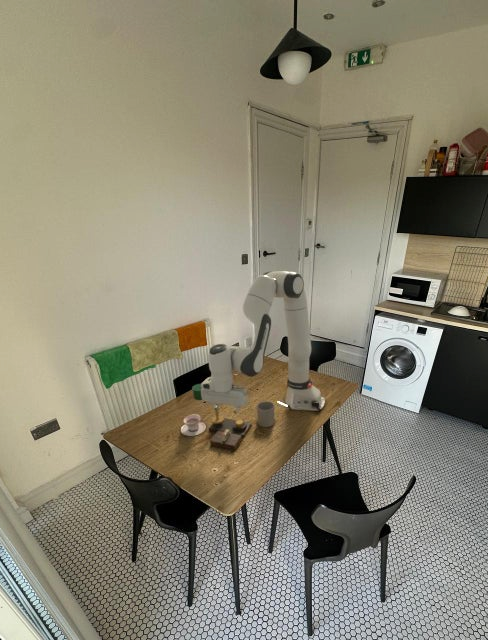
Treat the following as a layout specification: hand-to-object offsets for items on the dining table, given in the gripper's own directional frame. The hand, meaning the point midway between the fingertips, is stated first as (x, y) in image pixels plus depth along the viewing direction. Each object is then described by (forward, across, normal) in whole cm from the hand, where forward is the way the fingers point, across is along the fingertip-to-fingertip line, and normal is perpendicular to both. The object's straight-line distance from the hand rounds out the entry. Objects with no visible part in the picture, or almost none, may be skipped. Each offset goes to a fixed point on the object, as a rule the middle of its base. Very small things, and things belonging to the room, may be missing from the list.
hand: (226, 411), depth 140 cm
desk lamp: (+13, +15, -10) cm, 22 cm away
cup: (+18, -11, -20) cm, 29 cm away
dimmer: (+17, +1, +1) cm, 17 cm away
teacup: (+17, +21, -4) cm, 28 cm away
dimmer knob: (+14, +1, +1) cm, 14 cm away
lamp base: (+17, +4, -10) cm, 20 cm away
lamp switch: (+14, -1, -10) cm, 17 cm away
